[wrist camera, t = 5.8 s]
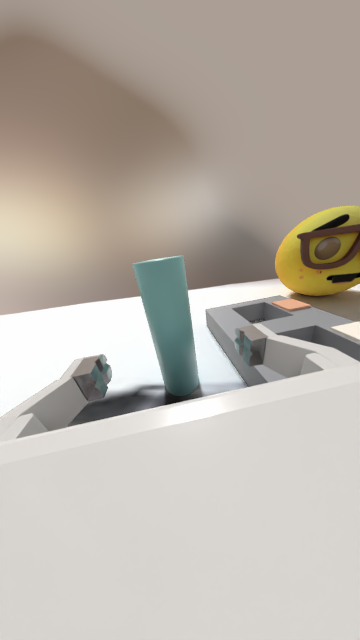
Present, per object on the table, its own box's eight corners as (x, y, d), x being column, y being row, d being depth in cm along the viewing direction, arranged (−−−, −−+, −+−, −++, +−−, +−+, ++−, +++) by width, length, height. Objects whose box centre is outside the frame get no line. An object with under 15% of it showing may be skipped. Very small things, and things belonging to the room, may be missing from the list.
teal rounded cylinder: (190, 401, 13) (165, 260, 8) (158, 389, 15) (121, 266, 10) (203, 373, 16) (191, 254, 11) (175, 365, 18) (153, 259, 13)
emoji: (285, 311, 26) (303, 208, 20) (261, 288, 40) (267, 222, 33) (408, 306, 22) (483, 173, 15) (334, 282, 36) (357, 206, 29)
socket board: (280, 434, 10) (289, 402, 9) (206, 325, 26) (205, 307, 24) (443, 392, 11) (475, 358, 10) (277, 311, 26) (279, 293, 25)
